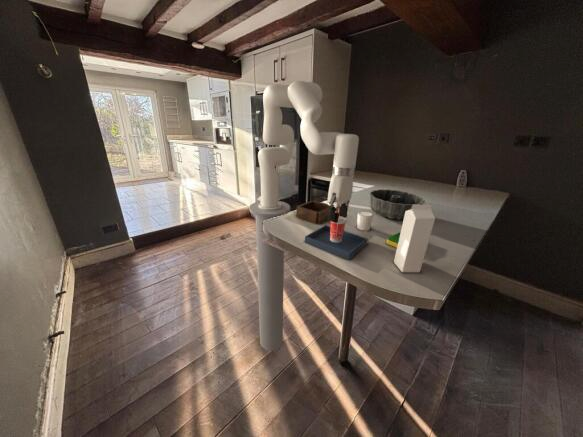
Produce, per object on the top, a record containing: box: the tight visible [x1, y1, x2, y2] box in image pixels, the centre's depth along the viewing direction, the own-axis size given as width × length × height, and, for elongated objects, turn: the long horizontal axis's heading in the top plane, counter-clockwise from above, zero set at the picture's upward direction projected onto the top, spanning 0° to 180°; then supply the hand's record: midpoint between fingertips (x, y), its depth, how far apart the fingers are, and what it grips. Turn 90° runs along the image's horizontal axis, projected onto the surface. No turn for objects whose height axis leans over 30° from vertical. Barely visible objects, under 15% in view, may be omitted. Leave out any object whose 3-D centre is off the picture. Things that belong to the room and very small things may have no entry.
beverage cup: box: [329, 205, 347, 243], centre depth 88 cm, size 6×6×14 cm
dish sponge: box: [386, 231, 401, 249], centre depth 93 cm, size 7×14×2 cm, turn 128°
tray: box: [304, 224, 369, 261], centre depth 91 cm, size 19×15×2 cm
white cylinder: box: [356, 210, 375, 232], centre depth 104 cm, size 7×7×7 cm
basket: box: [295, 200, 330, 225], centre depth 116 cm, size 14×14×6 cm
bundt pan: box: [369, 189, 426, 221], centre depth 121 cm, size 26×26×10 cm
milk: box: [393, 204, 436, 273], centre depth 73 cm, size 6×6×22 cm
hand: (338, 218), depth 87 cm, fingers closed on beverage cup, 6 cm apart
